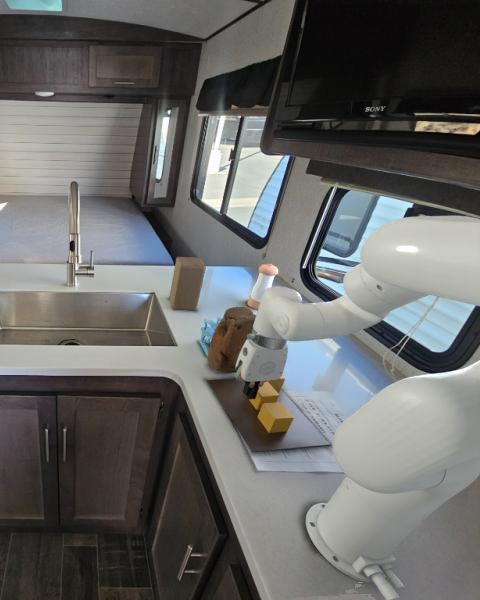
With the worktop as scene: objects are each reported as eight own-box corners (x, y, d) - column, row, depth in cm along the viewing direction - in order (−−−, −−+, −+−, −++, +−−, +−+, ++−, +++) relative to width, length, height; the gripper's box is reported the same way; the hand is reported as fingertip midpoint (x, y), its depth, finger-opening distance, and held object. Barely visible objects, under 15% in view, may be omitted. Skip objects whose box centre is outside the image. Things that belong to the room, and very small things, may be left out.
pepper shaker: (262, 301, 140) (276, 260, 130) (269, 310, 133) (284, 267, 124) (244, 300, 140) (257, 259, 131) (250, 309, 134) (264, 266, 125)
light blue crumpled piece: (211, 339, 114) (219, 310, 109) (227, 353, 108) (237, 323, 102) (193, 343, 112) (200, 314, 106) (208, 357, 105) (217, 327, 100)
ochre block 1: (273, 408, 87) (279, 395, 84) (256, 410, 86) (262, 396, 84) (262, 394, 91) (267, 381, 89) (246, 396, 90) (251, 383, 88)
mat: (330, 445, 77) (330, 444, 77) (252, 452, 75) (253, 451, 75) (268, 376, 98) (268, 375, 98) (206, 380, 96) (206, 379, 96)
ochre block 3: (287, 431, 80) (294, 417, 78) (269, 433, 80) (275, 419, 77) (274, 415, 85) (280, 402, 82) (257, 416, 84) (262, 403, 82)
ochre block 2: (279, 391, 92) (285, 378, 90) (263, 392, 92) (268, 379, 89) (268, 379, 97) (274, 366, 94) (253, 380, 96) (258, 367, 94)
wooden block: (191, 299, 140) (201, 257, 130) (196, 311, 131) (207, 266, 122) (168, 298, 141) (176, 255, 131) (172, 309, 132) (180, 265, 122)
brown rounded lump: (229, 355, 107) (245, 303, 97) (245, 370, 100) (264, 316, 91) (201, 361, 104) (215, 308, 94) (216, 376, 98) (233, 321, 88)
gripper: (247, 348, 72) (229, 408, 80) (309, 344, 73) (284, 404, 82) (230, 330, 78) (214, 387, 87) (286, 327, 80) (266, 384, 88)
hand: (248, 395), depth 84 cm, fingers closed
